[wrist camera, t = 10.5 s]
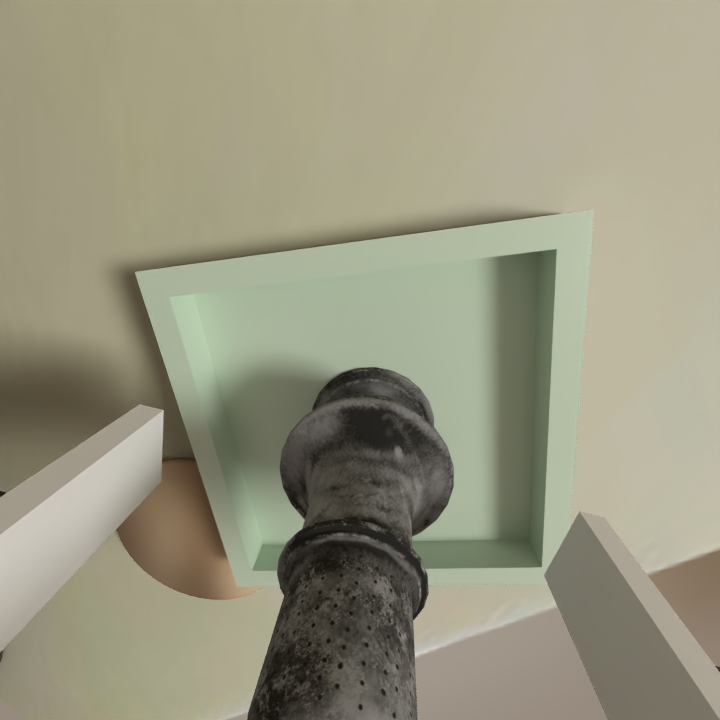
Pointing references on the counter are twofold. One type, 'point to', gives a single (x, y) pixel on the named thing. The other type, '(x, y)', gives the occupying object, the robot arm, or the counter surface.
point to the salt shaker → (354, 552)
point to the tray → (402, 355)
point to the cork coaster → (181, 536)
